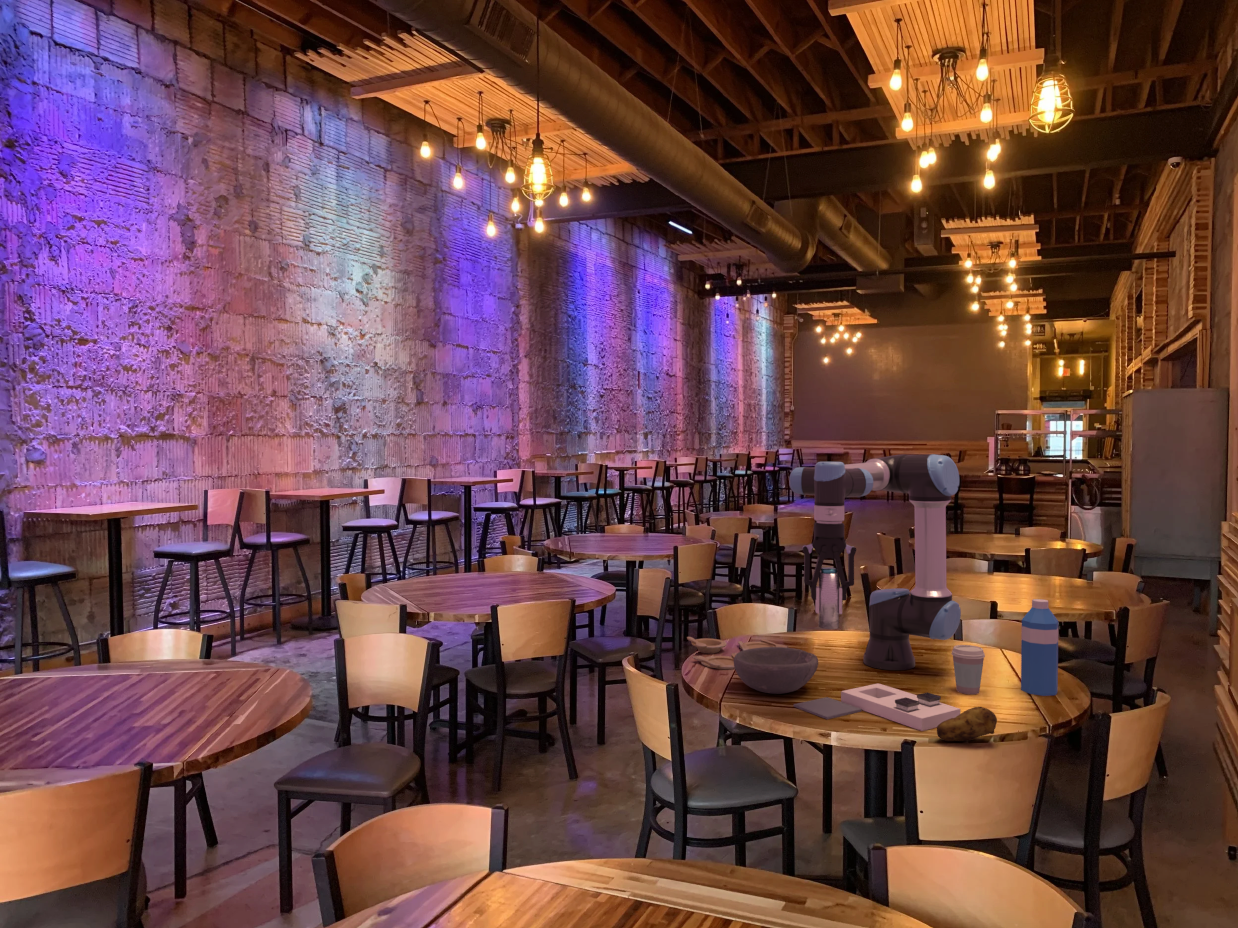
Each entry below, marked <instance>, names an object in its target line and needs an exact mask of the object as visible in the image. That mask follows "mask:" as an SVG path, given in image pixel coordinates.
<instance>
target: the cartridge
mask: <svg viewBox="0 0 1238 928" xmlns="http://www.w3.org/2000/svg"><path fill="white" fill-rule="evenodd" d="M818 586H819V613H818V628H820V629H823V630H836V629H837V630H838V629H839V623H840V621H839V620H840V619H839V617H840V616H839V615H840V614H839V587H840V579H839V573H838V571H837V567H836V568H835V567H821V571H820V575H819V578H818Z"/></svg>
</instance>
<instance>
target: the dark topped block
mask: <svg viewBox="0 0 1238 928" xmlns="http://www.w3.org/2000/svg"><path fill="white" fill-rule="evenodd" d="M916 695H917V698H918V701H919V704H921V705H925V706H928V707H933V706H938V705H939V702H940V701H941V700H942V699H941V696H940V695H937V694H934V693H932V692H931V693H930V692H924V693H923V692H922V693H919V694H916Z"/></svg>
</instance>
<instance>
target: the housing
mask: <svg viewBox="0 0 1238 928" xmlns="http://www.w3.org/2000/svg"><path fill="white" fill-rule="evenodd" d="M917 695H918V694H914V693H911V692H909V691H908V692H907V691H904V690H901V689H898V688H895V687H892V686H889V685H886V684H885V685H884V684H881V683H873V684H869V685H865V686H859V687H856V688H855V687H854V688H850V689H845V690H842V691H840V702H843V703H846V704H849V705H851V706H854V707H857V708H860V709H861V711H863V712H866V713H870V714H873V715H875V716H878V717H881V718H883V719H884V718H885V719H886V720H890V721H893V722H895V723H898V724H901V725H903V726H905V727H906V726H907V727H910V728H912V729H915V730H918V731H921V732H923V731H927V730H931V729H935V728H937V726H938V725H939V724H940V723H942V722H944V721H946V720H948V719H951V718H955V717H957V716H958V715H959V714H961V708H959V707H955V706H952V705H949V704H946V703H943V702H940V701H939V705H938V706H933V707H928V706H925V705H921V704H919V705H918V710H917V711H913V712H909V713H908V712H905V711H902V710H899V709H896V703H895V700H897V699H901V698H909V699H913V700H916V701H918V698H917Z"/></svg>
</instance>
